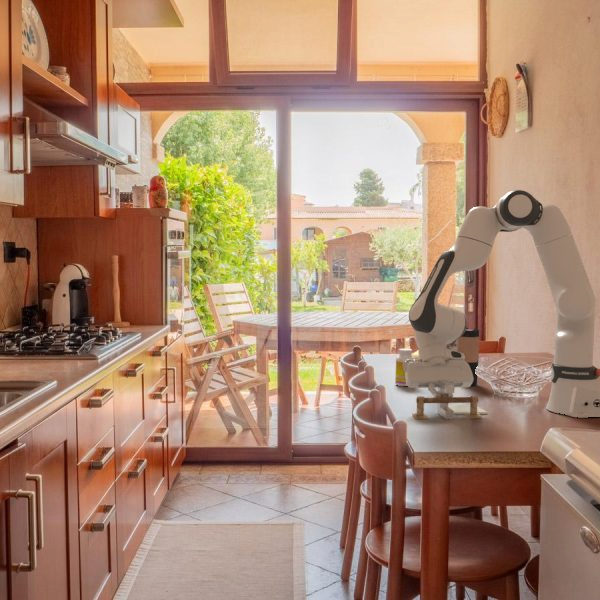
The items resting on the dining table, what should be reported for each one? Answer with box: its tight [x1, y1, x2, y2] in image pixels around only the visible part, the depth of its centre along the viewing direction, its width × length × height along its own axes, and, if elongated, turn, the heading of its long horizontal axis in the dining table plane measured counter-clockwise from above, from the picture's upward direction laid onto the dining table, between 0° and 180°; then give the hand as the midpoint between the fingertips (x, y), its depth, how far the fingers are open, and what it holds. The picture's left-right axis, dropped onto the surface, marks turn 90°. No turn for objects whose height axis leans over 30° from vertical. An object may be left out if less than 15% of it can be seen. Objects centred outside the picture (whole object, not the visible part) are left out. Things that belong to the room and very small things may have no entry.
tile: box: [448, 404, 488, 416], centre depth 220 cm, size 10×10×1 cm
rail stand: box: [411, 395, 483, 420], centre depth 211 cm, size 20×4×6 cm, turn 97°
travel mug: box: [457, 327, 480, 388], centre depth 260 cm, size 8×8×20 cm
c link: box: [437, 380, 456, 420], centre depth 212 cm, size 2×7×10 cm, turn 7°
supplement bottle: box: [394, 348, 415, 387], centre depth 258 cm, size 7×7×13 cm
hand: (443, 398), depth 214 cm, fingers closed on c link, 2 cm apart
